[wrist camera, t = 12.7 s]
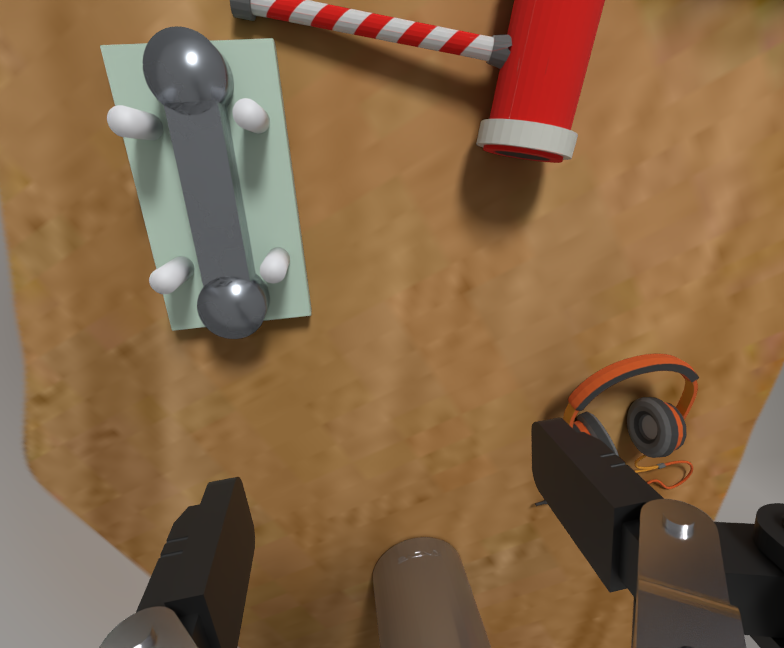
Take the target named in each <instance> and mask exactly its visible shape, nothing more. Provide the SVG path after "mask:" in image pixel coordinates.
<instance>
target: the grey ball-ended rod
mask: <svg viewBox="0 0 784 648" xmlns="http://www.w3.org/2000/svg"><path fill="white" fill-rule="evenodd" d="M142 63H143V73H144V77H145V80H146V83H147V85H148V87H149V89H150V91H151V92H152V93H153V95H154V96H155V97H156V98H157V100H158V101H159V102H161V103H162V104H163V105H164V109H165V113H166V118H167V122H168V127H169V132H170V136H171V141H172V145H173V150H174V155H175V159H176V164H177V168H178V173H179V178H180V182H181V187H182V191H183V196H184V201H185V205H186V210H187V214H188V219H189V223H190V228H191V233H192V237H193V242H194V246H195V251H196V256H197V260H198V265H199V269H200V274H201V279H202V283H203V289H202V290H201V292H200V294H199V296H198V300H197V311H198V315H199V317H200V320H201V321H202V323H203V324H204V325H205V327H206V328H207V329H208V330H210V331H211V332H212V333H214V334H216V335H218V336H220V337H224V338H228V339H239V338H243V337H247V336H249V335H251V334H252V333H254V332H255V331H256V330H257V329H258V328H259V327H260V326H261V324H262V322H263V320H264V318H265V315H266V312H267V310H268V307H269V303H270V295H269V290H268V288H267V286H266V284H265V282H264V281H263V280H262V279H261V278H260V277H259V276H258V275H257V274H256V272H255V266H254V260H253V254H252V249H251V243H250V237H249V231H248V226H247V220H246V214H245V209H244V203H243V197H242V191H241V186H240V180H239V174H238V168H237V163H236V157H235V151H234V145H233V140H232V134H231V128H230V122H229V117H228V111H227V107H228V105H229V103H230V101H231V99H232V96H233V92H234V78H233V74H232V71H231V68H230V66H229V64H228V62H227V60H226V59H225V57H224V56H223V55H222V54H221V53H220V52H219V50H218V49H217V48H216V47H215V46H214V45H213V44H212V43H211V42H210V41H209V40H208V39H207V38H206V37H204V36H203V35H202V34H200V33H198V32H196V31H194V30H192V29H189V28H185V27H169V28H165V29H163V30H161V31H159V32H158V33H156V34H155V35H154V36H153V37H152V38H151V39H150V40H149V42H148V44H147V45H146V48H145V50H144V54H143V62H142Z"/></svg>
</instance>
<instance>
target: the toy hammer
mask: <svg viewBox="0 0 784 648" xmlns="http://www.w3.org/2000/svg"><path fill="white" fill-rule="evenodd" d="M604 2H605V0H514V4H513V9H512V14H511V19H510V23H509V28H508V33H507V35H493V37H490V36H484V35H479V34H474V33H469V32H464V31H459V30H454V29H449V28H444V27H439V26H434V25H429V24H424V23H419V22H414V21H409V20H404V19H399V18H394V17H389V16H384V15H379V14H374V13H369V12H364V11H359V10H354V9H349V8H344V7H339V6H334V5H329V4H324V3H319V2H314V1H309V0H230V6H231V11H232V14H233V16H234V17H236V18H241V19H246V20H251V21H254V20H255V19H256V16H261V17H267V18H272V19H277V20H282V21H287V22H292V23H297V24H302V25H308V26H313V27H318V28H323V29H328V30H333V31H338V32H343V33H348V34H354V35H359V36H364V37H369V38H374V39H379V40H384V41H389V42H394V43H400V44H405V45H410V46H415V47H420V48H425V49H430V50H435V51H440V52H446V53H451V54H456V55H461V56H466V57H471V58H475V59H480V60H485V61H487V63H488V64H490V65H493V66H495V67H497V68H499V69H500V71H499V76H498V80H497V85H496V90H495V95H494V99H493V104H492V109H491V114H490V118H489V119H485V120H482V121H481V124H480V129H479V134H478V138H477V143H476V144H477V145H478V146H480V147H483V150H484V151H486V152H490V153H493V154H498V155H502V156H508V157H513V158H519V159H526V160H533V161H541V162H554V163H560V162H562V161H563V160H568V159H571V158H572V155H573V151H574V147H575V144H576V140H577V136H578V134H577V133H575V132H573V131H571V127H572V123H573V119H574V115H575V112H576V108H577V104H578V100H579V97H580V93H581V89H582V85H583V81H584V78H585V74H586V70H587V66H588V62H589V59H590V55H591V51H592V47H593V44H594V40H595V36H596V32H597V28H598V25H599V21H600V17H601V13H602V9H603V6H604Z"/></svg>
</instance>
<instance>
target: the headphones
mask: <svg viewBox="0 0 784 648" xmlns="http://www.w3.org/2000/svg"><path fill="white" fill-rule="evenodd" d="M655 371H674V372H678V373H680V374H681V375H682V376H683V377H684V378H685V388H684V391H683V394H682V396H681V398H680V400H679V403H678V405H677V407H674V406H673V405H672V404H670V403H666V402H663V401H662V400H660V399H657V398H654V397H643V398H639V399H637V400H635V401H634V402H633V403H632V405H631V406H630V408H629V411H628V415H627V428H628V432H629V435H630V437H631V440H632V442H633V443H634V445H635V446H636V448H637V449H638V450H639V451H640V452H641V453H643V454H644V455H643V456H641V457H639V458H638V459H637V460H636V461H635V467H636V468H638V469H642V470H636V471H635V472H636V473H639V472H644V471H648V470H653V469H656V468H658V469H660V468H664V467H666V466H667V465H671V464H676V463H687V464H689V465H690V467H691V470H690V472H689V474H688V475H687V476H686V477H685V478H684V479H683V480H682V481H681V482H679V483H677V484H676V485H673V486H670V487H666V486H665V485H664V484H663V483H662V482H661V481H659V480H656V479H655V480H651V481H648V482H647V483H648V484H650V483H652V482H658V483H660V484H661V485H662V486H663V487H664V488H666V489H672V488H675V487H677V486H679V485H680V484H682V483H683V482H685V481H686V480H687V479H688V478H689V477H690V475H691V474H692V472H693V466H692V464H691V463H690V462H688V461H674V462H669V463H665V464H664V463H661V464H657V465H656V466H651V467H640V466H638V465H637V463H638V461H640V460H641V459H643V458H644V457H646V456H648V457H652V458H656V457H666V456H668V455H670V454H671V453H672V452H673V451H674V450H677V449H679V448H680V447H681V446H682V445H683V444H684V441H685V438H686V424H685V421H684V420H685V418H686V416H687V415H688V413H689V411H690V409H691V407H692V405H693V403H694V400H695V398H696V395H697V391H698V384H697V379H699V376H698V375H697V374H696V372H695V371H694V370H693V368H692V367H691V366H690V365H689V364H687V363H686V362H684V361H682V360H680V359H678V358H676V357H674V356H671V355H667V354H645V355H640V356H635V357H631V358H627V359H624V360H621V361H618V362H616V363H613V364H611V365H609V366H607V367H605V368H603V369H601V370H599V371H597V372H596V373H594V374H593V375H591V376H590V377H588V378H587V379H586V380H585V381H584V382H582V383H581V384H580V385H579V386H578V387H577V388H576V389H575V390H574V391H573V392H572V394H571V395H570V396H569V398H568V402H569V403H568V405H567V407H566V410H565V412H564V417H563V420H565V421H566V422H567V423H568V424H569V425H570V426H571V427H572V428H573V429H574V430H575V431H576V432H577V433H579V432H585V433H587V434H589V435H591V436H593V437H595V438H597V439H599V440H601V441H603V442H604V443H605V444H606V445H607V446H608V447H609V448H610V449H611V450H612V451H613V452H614V454H615V455H618V453H617V450H616V448H615V446H614V444H613V442H612V440H611V438H610V436H609V434H608V433H607V431H606V430H605V428H604V427H603V425H602V424H601V423H600V421H599V420H598V419H597V418H596V417H595V416H594V415H593V414H591V413H589V412H584V413H582V414H580V415H578V418H577V421H575V422H574V420H575V417H576V415H577V413H578V411H582V410H583V409H584V408H585V407H586V406H587V405H588V404H589V403H590V402H591V401H592V400H593V399H594V398H595V397H596V396H598V395H599V394H600V393H601V392H603V391H604V390H606V389H607V388H609V387H611V386H612V385H614V384H616V383H618V382H620V381H622V380H625V379H628V378H630V377H633V376H637V375H640V374H644V373H648V372H655ZM618 456H619V455H618ZM542 504H547V502H546V501H545V500H544V501H542V502H538V503H535V505H536V506H538V505H542Z"/></svg>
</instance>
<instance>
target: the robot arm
mask: <svg viewBox="0 0 784 648" xmlns="http://www.w3.org/2000/svg"><path fill="white" fill-rule="evenodd" d="M532 472H533V477H534V481H535V484H536V486H537V488H538V490H539V492H540V494H541V495H542V496H543V498H544V499H545V501H546V502H547V504H548V505H549V506H550V508H551V509H552V511H553V512H554V514H555V515H556V516H557V518H558V519H559V521H560V522H561V524H562V525H563V526H564V528H565V529H566V531H567V532H568V534H569V535H570V536H571V538H572V539H573V541H574V542H575V544H576V545H577V546H578V548H579V549H580V551H581V552H582V554H583V555H584V556H585V558H586V559H587V561H588V562H589V564H590V565H591V566H592V568H593V569H594V571H595V572H596V574H597V575H598V576H599V578H600V579H601V581H602V582H603V584H604V585H605V586H606V588H607V589H608V591H609V592H614V591H618V590H622V589H627V588H628V590H629V591H630V592H631V593H632V595H633V596H634V601H633V619H632V640H631V648H746V643H745V637H744V635H750V636H751V637H752V638H753V640H754V641H755V642H756V643H757V644H758V645H759V647H760V648H784V504H780V503H775V504H768V505H765V506H762V507H761V508H760V509H758V511H757V514H756V519H755V524H745V523H726V522H714V521H713V520H712V519H711V518H710V517H709V516H708V515H707V514H706V513H704V512H703V511H702V510H700V509H698V508H696V507H694V506H692V505H690V504H687V503H685V502H681V501H678V500H672V499H664V498H663V497H662V496H661V495H660V494H658V493H657V492H656V491H655V490H654V489H653V488H652V487H651V486H650V485H649V484H648V483H647V482H646V481H644V480H643V479H642V478H641V477H640V476H639V475H638V474H637V473H636V472H635V471H634V470H633V469H632V468H631V467H629V466H628V465H625V462H624V461H623V460H622V459H621V458H620V457H619V456H618V455H615V454H614V452H613V451H612V450H611V449H610V448H609V447H608V446H607V445H606V444H605V443H604V442H603V441H601V440H599V439H597V438H595V437H593V436H591V435H589V434H587V433H585V432H579V433H577V432H576V431H575V430H574V429H573V428H572V427H571V426H570V425H569V424H568V423H567V422H566V421H565V420H563V419H562V418H554V419H548V420H543V421H538V422H534V423H533V424H532ZM254 549H255V532H254V525H253V521H252V517H251V513H250V510H249V506H248V502H247V498H246V495H245V491H244V487H243V483H242V481H241V479H240V477H235V478H229V479H224V480H219V481H213V482H209V483H208V485H207V487H206V490H205V492H204V495H203V498H202V501H201V503H200V505H195V506H189V507H188V508H187V509H186V510H185V511H184V512H183V513H182V515H181V516H180V517H179V518H178V519H177V520H176V521H175V522H174V524H173V526H172V529H171V531H170V533H169V536H168V538H167V544H165V545H164V547H163V550H162V552H161V558H159V559H158V562H157V564H156V566H155V569H154V571H153V573H152V576H151V578H150V580H149V583H148V586H147V588H146V590H145V592H144V595H143V597H142V599H141V602H140V604H139V606H138V609H137V611H136V613H135V614H133V615H131V616H129V617H128V618H126V619H125V620H123V621H122V622H121V623H119V624H118V625H117V626H116V627H115V628H114V629H113V630H112V631H111V632H110V633H109V634H108V635H107V637H106V638H105V639H104V641H103V642H102V644H101V645H100V647H99V648H237V646H238V640H239V634H240V629H241V623H242V617H243V612H244V606H245V600H246V595H247V589H248V583H249V578H250V572H251V566H252V561H253V555H254ZM373 586H374V595H375V604H376V613H377V623H378V632H379V640H380V648H491V646H490V643H489V640H488V637H487V634H486V631H485V628H484V625H483V622H482V619H481V617H480V614H479V611H478V608H477V605H476V602H475V599H474V596H473V593H472V590H471V587H470V584H469V582H468V579H467V576H466V573H465V570H464V567H463V564H462V561H461V559H460V556H459V554H458V552H457V551H456V549H455V548H454V547H452V546H451V545H450V544H449V543H447V542H445V541H443V540H440V539H436V538H429V537H421V538H413V539H409V540H406V541H403V542H401V543H399V544H396V545H395V546H393V547H392V548H390V549H389V550H388V551H386V552H385V553H384V554H383V555H382V556H381V558H380V559H379V560H378V562H377V564H376V566H375V568H374V571H373Z"/></svg>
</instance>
